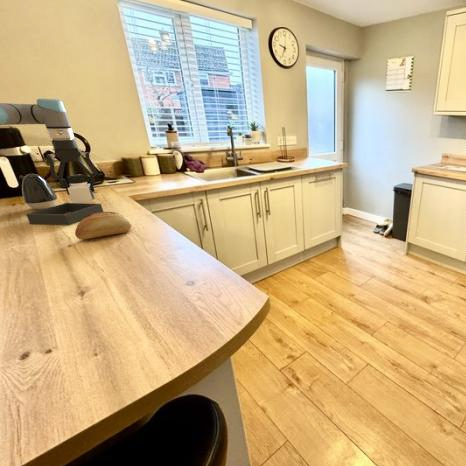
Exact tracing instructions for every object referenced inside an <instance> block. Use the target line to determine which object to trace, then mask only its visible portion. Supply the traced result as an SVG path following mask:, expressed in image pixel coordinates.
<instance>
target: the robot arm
mask: <svg viewBox="0 0 466 466" xmlns="http://www.w3.org/2000/svg"><path fill="white" fill-rule="evenodd" d="M8 125H11V126H13V125H14V126H15V125H19V126H20V125H45V128H46V131H47V133H48V136H49V139H51V141H50V142H51V145H52V148H53V150H54V152H53V153H50V154H46V155H45V157H46V159H47V160H48V163H49V169H50V175H51V179H53V180H58V181H59V184H60V186H61V188H64V189H65V190H66V193H67V195H69V196H70V194H69V192H68V188H69V186H68V182H67V180H66V178H63V177H64V172H65V166H66V163H77V164H78V165H79V166H80V167H81V169H83V171H84V172H85V173H86V174H87V175H88V176H87V179H88V182H89V184H90V185H91V188H92V191H93V192H94V193H95V187H94V185H95V184H96V181H95V176H97V175H99V174H98V172H97V170H96V168H95V166H94V163H93V162H92V160H91V158H90V153H89V152H88V151H87V152H84V151H83V152H82V151H80V150H79V147H78V144H77V141H76V140H75V134H74V132H73V129H72V126H71V124H70V121H69V117H68V114H67V110H66V107H65V106H64V103H63V101H61V100H60V99H57V98H37V99H36V103H34V104H31V103H8V102H0V126H8ZM81 156H82V157H83V158H85V159H86V162H87V164H88V165H89V167H90V168H91V171H92V172H91V171H90V170H89V168H87V166H86V165H85V164H84V163H83V162H82V161H81V160H80V157H81ZM55 157H56V158H58V159H59V160H60V167H59V172H58V175H57V173H56V168H55V167H56V166H55V162H54V160H55V159H56V158H55Z"/></svg>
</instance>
